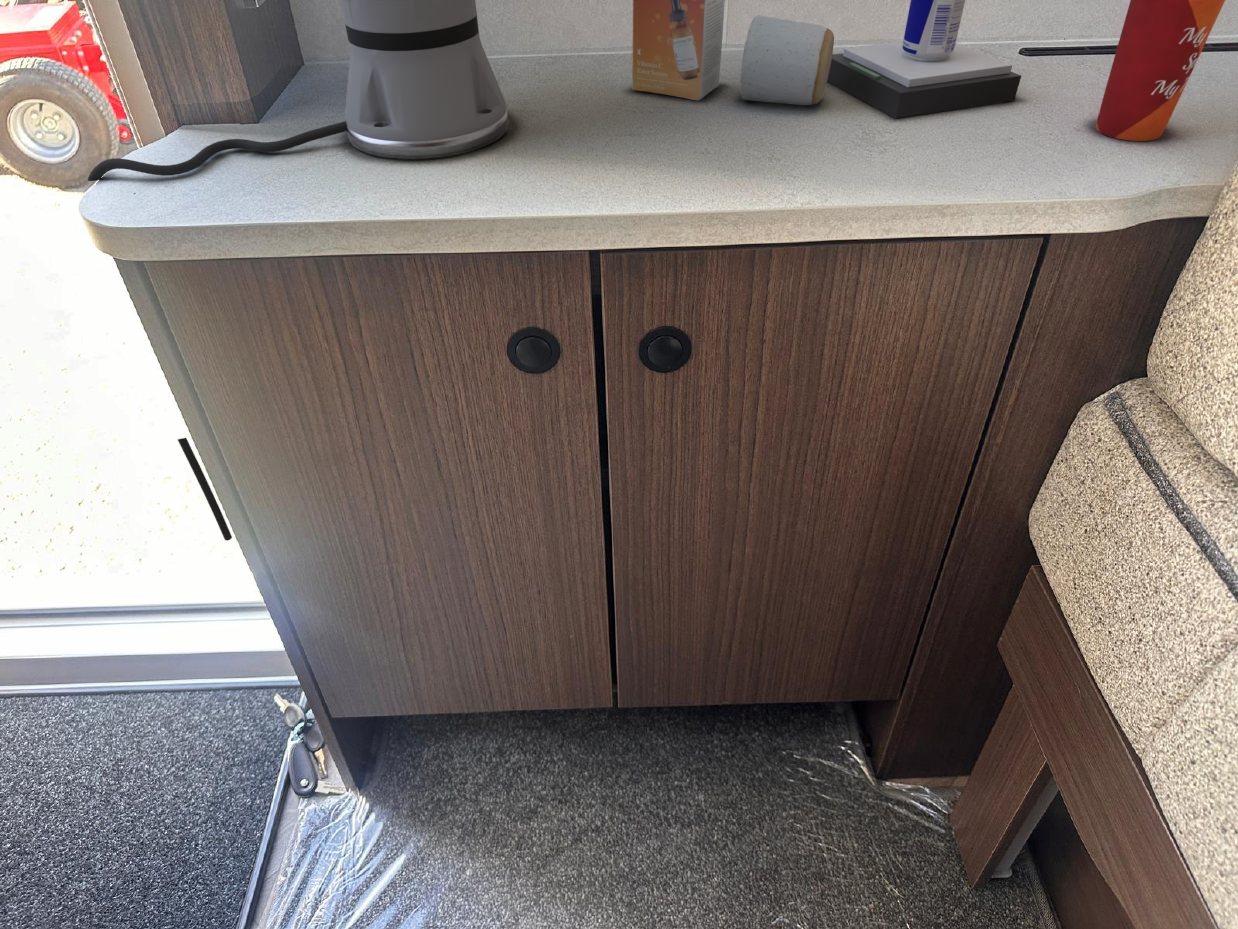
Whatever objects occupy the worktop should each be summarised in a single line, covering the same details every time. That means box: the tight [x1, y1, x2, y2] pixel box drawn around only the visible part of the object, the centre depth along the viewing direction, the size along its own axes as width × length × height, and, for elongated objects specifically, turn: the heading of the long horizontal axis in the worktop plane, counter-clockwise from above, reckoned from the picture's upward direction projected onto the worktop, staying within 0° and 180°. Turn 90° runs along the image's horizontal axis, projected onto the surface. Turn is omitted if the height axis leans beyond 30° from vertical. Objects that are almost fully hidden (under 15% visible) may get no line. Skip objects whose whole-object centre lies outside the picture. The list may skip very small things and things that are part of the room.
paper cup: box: [1095, 0, 1226, 142], centre depth 73 cm, size 8×8×14 cm
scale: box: [827, 40, 1022, 119], centre depth 87 cm, size 14×14×3 cm
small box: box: [631, 0, 726, 101], centre depth 86 cm, size 8×6×10 cm
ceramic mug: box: [739, 15, 835, 106], centre depth 84 cm, size 11×8×8 cm
